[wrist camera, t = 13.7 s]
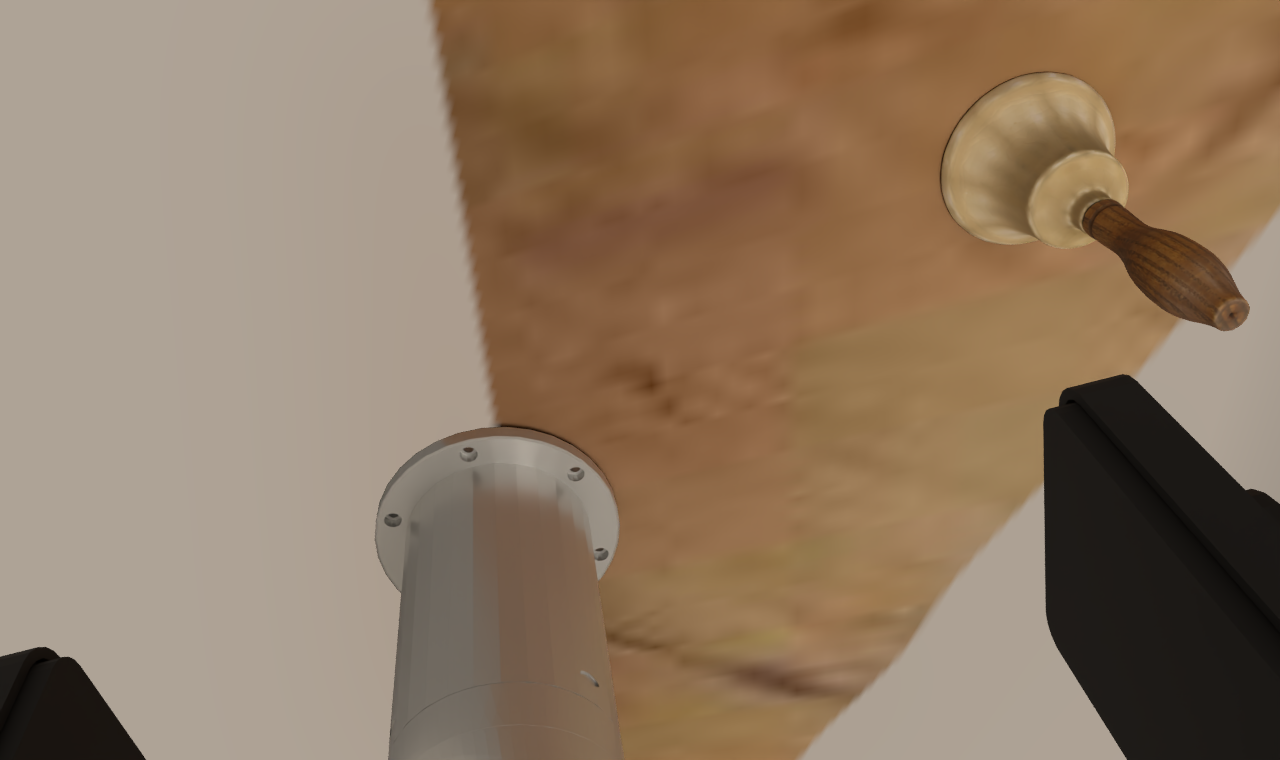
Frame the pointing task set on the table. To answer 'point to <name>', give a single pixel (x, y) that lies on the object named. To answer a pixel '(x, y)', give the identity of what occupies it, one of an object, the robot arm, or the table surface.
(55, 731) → the robot arm
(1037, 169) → the hand bell
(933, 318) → the table surface
